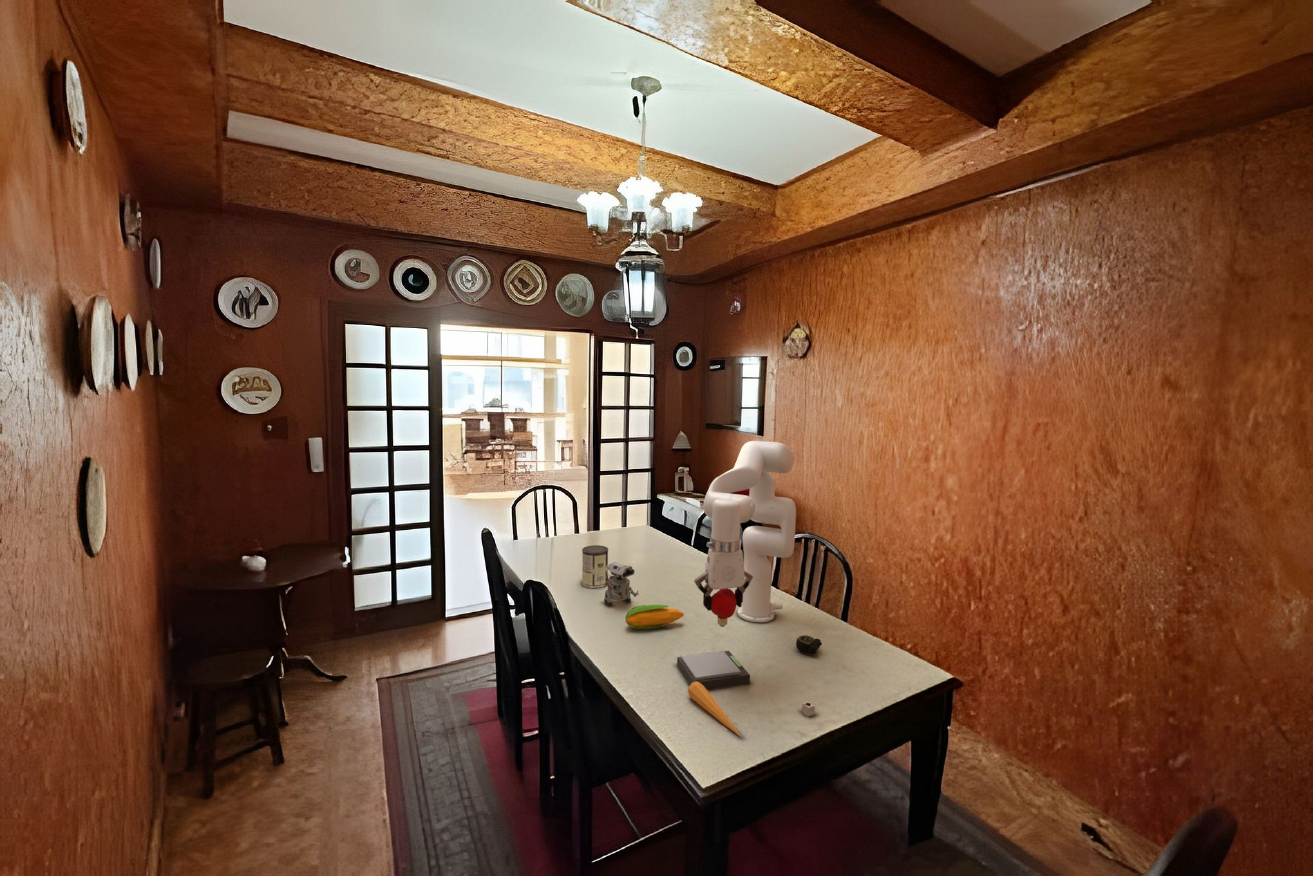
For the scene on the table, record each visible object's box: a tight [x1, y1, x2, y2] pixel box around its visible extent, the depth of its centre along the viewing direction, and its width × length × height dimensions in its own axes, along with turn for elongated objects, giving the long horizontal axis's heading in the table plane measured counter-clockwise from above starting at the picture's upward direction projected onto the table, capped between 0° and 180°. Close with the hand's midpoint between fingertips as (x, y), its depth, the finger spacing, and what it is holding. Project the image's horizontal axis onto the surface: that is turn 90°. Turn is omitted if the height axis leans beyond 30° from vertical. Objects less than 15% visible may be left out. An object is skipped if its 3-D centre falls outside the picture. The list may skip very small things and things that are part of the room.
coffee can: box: [581, 544, 609, 589], centre depth 221 cm, size 10×10×14 cm
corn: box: [625, 604, 685, 630], centre depth 183 cm, size 7×8×20 cm
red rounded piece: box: [710, 588, 737, 628], centre depth 152 cm, size 9×7×10 cm
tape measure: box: [795, 634, 823, 656], centre depth 169 cm, size 7×7×4 cm
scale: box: [676, 650, 751, 691], centre depth 154 cm, size 16×14×3 cm
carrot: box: [687, 681, 742, 738], centre depth 135 cm, size 20×4×4 cm, turn 31°
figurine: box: [603, 561, 640, 607], centre depth 200 cm, size 9×12×15 cm
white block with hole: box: [801, 701, 816, 718], centre depth 137 cm, size 2×2×2 cm
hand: (722, 606), depth 152 cm, fingers closed on red rounded piece, 8 cm apart
